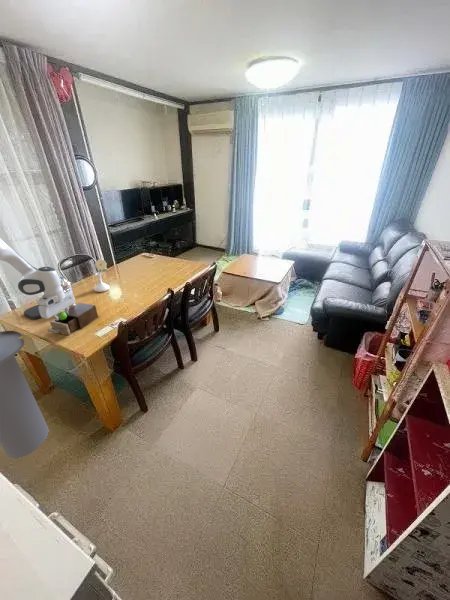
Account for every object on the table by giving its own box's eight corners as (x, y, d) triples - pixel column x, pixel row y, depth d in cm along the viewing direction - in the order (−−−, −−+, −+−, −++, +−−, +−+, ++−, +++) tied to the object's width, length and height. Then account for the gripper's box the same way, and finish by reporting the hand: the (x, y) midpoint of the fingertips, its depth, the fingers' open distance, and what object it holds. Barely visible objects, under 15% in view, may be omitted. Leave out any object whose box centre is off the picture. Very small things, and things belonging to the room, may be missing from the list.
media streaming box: (34, 321, 159) (33, 316, 158) (22, 314, 165) (20, 310, 164) (58, 310, 171) (56, 307, 169) (45, 305, 177) (44, 301, 175)
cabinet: (81, 329, 152) (77, 316, 148) (64, 325, 155) (60, 313, 151) (98, 317, 165) (95, 305, 161) (82, 313, 168) (78, 302, 164)
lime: (63, 322, 144) (60, 315, 142) (56, 321, 145) (53, 313, 143) (69, 318, 148) (67, 311, 146) (63, 316, 149) (60, 309, 147)
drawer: (62, 340, 141) (58, 330, 138) (45, 336, 144) (42, 326, 141) (86, 322, 157) (84, 313, 154) (71, 319, 160) (68, 310, 156)
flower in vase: (92, 293, 194) (84, 262, 182) (96, 287, 204) (88, 257, 192) (110, 292, 197) (104, 261, 185) (113, 286, 206) (107, 256, 195)
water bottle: (74, 307, 175) (64, 273, 163) (80, 310, 171) (70, 276, 160) (64, 311, 170) (53, 277, 158) (69, 315, 166) (58, 279, 155)
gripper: (65, 287, 149) (72, 307, 155) (33, 303, 131) (42, 325, 138) (74, 288, 147) (80, 309, 154) (43, 304, 130) (51, 327, 136)
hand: (62, 317), depth 146 cm, fingers closed on lime, 5 cm apart
